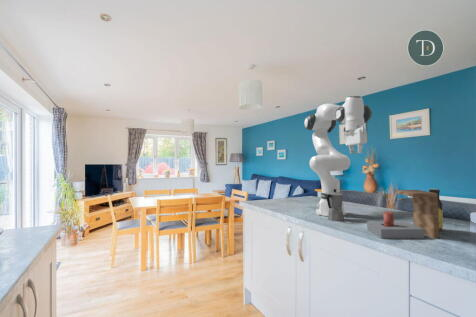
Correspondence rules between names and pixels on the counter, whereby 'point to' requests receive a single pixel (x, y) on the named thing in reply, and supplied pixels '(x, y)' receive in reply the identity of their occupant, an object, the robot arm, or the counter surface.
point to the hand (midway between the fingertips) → (355, 153)
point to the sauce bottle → (439, 208)
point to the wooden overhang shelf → (424, 210)
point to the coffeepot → (335, 206)
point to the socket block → (396, 230)
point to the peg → (388, 219)
